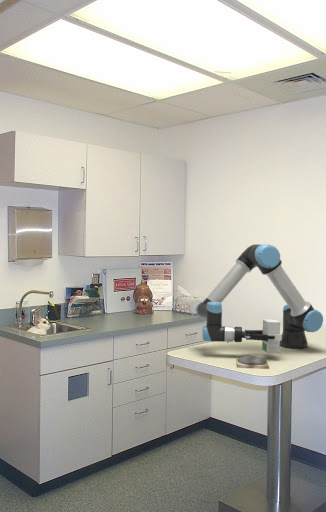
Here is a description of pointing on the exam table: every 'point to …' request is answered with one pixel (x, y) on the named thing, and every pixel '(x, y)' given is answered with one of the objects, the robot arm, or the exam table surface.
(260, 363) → the rosette stand
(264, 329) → the skincare box
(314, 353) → the exam table surface
